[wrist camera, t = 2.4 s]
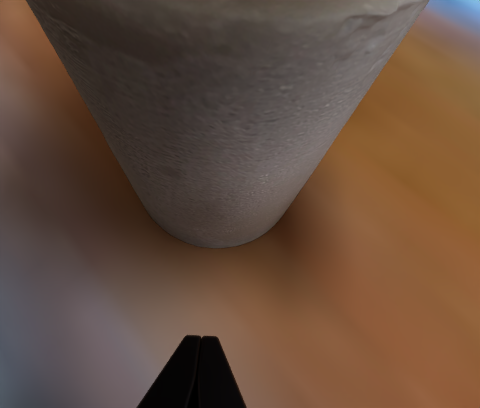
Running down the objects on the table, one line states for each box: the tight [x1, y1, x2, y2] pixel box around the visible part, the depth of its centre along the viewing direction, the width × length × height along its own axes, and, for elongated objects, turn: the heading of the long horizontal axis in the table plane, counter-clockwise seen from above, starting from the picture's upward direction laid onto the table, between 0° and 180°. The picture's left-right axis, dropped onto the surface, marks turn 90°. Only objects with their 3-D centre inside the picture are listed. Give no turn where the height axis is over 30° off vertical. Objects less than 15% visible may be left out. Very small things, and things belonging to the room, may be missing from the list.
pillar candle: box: [26, 0, 429, 248], centre depth 11 cm, size 10×10×15 cm
